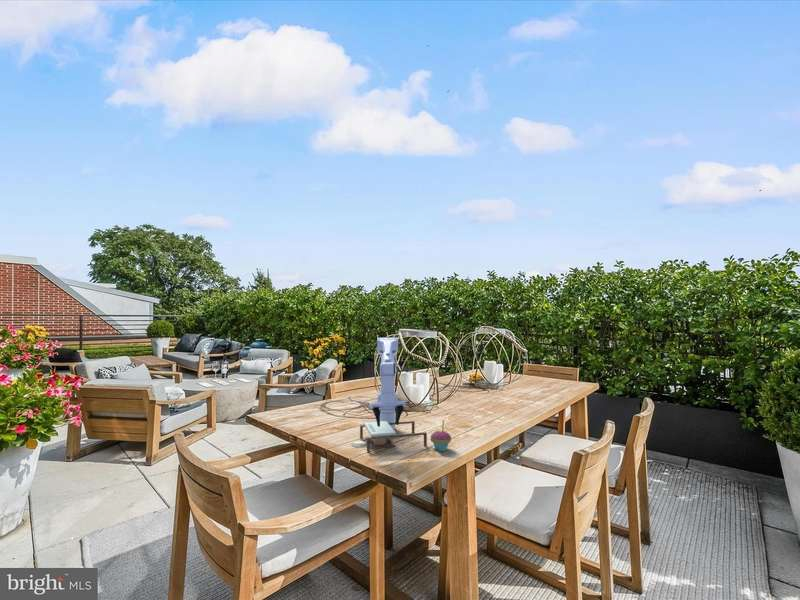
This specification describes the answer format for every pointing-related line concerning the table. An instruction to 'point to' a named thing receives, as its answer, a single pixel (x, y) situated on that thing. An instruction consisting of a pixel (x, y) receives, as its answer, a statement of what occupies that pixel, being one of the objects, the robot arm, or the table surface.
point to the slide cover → (379, 429)
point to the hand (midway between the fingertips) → (387, 425)
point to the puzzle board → (389, 442)
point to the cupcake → (441, 439)
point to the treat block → (379, 441)
